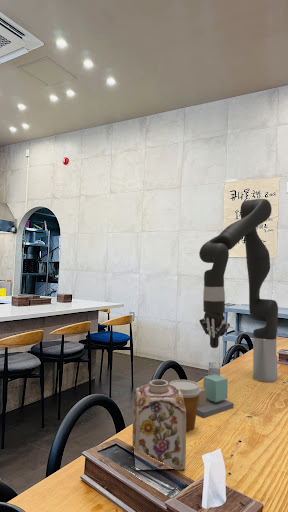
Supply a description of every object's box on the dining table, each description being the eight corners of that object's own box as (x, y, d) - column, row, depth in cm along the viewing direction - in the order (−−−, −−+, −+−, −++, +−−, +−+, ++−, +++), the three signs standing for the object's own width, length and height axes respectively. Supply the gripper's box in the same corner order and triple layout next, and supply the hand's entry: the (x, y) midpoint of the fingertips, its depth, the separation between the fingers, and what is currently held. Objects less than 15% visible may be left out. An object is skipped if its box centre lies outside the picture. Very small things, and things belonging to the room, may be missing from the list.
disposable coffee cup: (202, 422, 102) (203, 381, 102) (196, 437, 93) (197, 392, 93) (171, 417, 105) (172, 377, 105) (163, 431, 96) (163, 387, 96)
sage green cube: (214, 393, 119) (215, 374, 119) (227, 398, 114) (227, 378, 114) (203, 396, 115) (203, 376, 116) (215, 402, 111) (216, 381, 111)
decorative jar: (186, 471, 77) (187, 390, 78) (134, 472, 76) (136, 390, 77) (176, 444, 89) (178, 374, 89) (132, 445, 88) (133, 374, 89)
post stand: (211, 398, 121) (211, 373, 121) (233, 407, 113) (233, 381, 113) (181, 406, 113) (181, 380, 113) (203, 417, 105) (203, 389, 105)
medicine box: (220, 391, 128) (220, 368, 128) (208, 390, 128) (208, 367, 129) (220, 384, 135) (220, 362, 136) (208, 383, 136) (208, 361, 136)
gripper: (235, 300, 119) (235, 349, 119) (207, 296, 130) (207, 342, 130) (221, 301, 115) (221, 353, 115) (193, 298, 126) (193, 345, 126)
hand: (214, 347), depth 122 cm, fingers closed
